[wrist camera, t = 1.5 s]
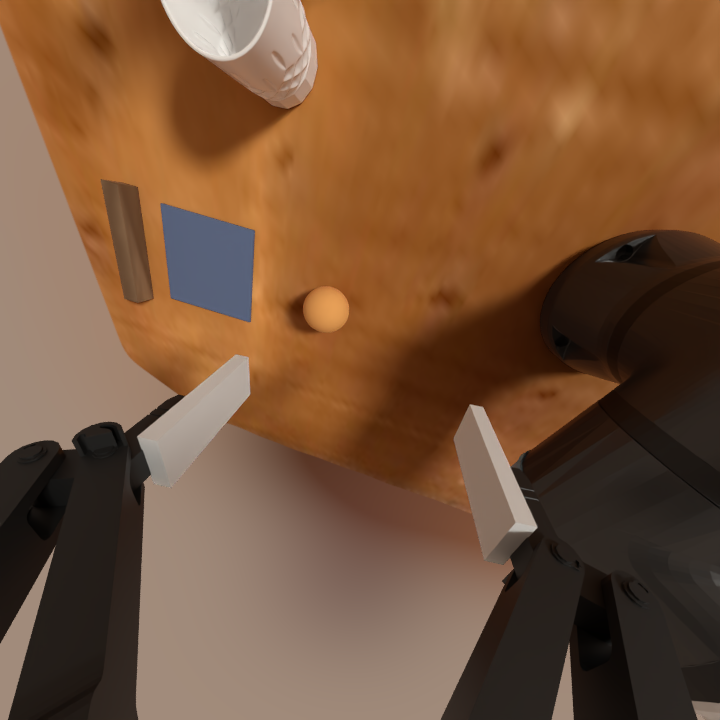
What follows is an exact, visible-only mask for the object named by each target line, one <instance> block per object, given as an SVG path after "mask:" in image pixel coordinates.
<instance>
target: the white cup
mask: <svg viewBox="0 0 720 720" xmlns="http://www.w3.org/2000/svg"><path fill="white" fill-rule="evenodd" d="M161 2H162V5H163V7H164V9H165V11H166V14H167V15H168V17H169V19H170V21H171V23H172V24H173V26H174V28H175V29H176V31H177V32H178V33H179V35H180V36H181V37H182V38H183V40H184V41H185V42H186V43H187V44H188V45H189V46H190V47H191V48H192V49H194V50H195V51H196V52H197V53H199V54H200V55H202V56H203V57H204V58H206V59H207V60H208V61H210V62H211V63H213V64H214V65H215V66H217V67H218V68H219V69H221V70H222V71H223V72H225V73H226V74H227V75H229V76H230V77H231V78H233V79H234V80H236V81H237V82H238V83H240V84H241V85H243V86H244V87H246V88H247V89H249V90H250V91H251V92H253V93H254V94H256V95H258V96H260V97H262V98H263V99H265V100H266V101H267V102H269V103H270V104H271V105H273V106H276V107H281V108H286V109H289V108H291V107H294V106H296V105H298V104H300V103H302V102H303V100H304V99H305V98H306V96H307V95H308V94H309V92H310V91H311V89H312V88H313V84H314V80H315V76H316V72H317V68H318V65H317V51H316V42H315V39H314V37H313V34H312V32H311V30H310V27H309V25H308V22H307V19H306V16H305V11H304V8H303V6H302V3H301V1H300V0H161Z"/></svg>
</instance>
